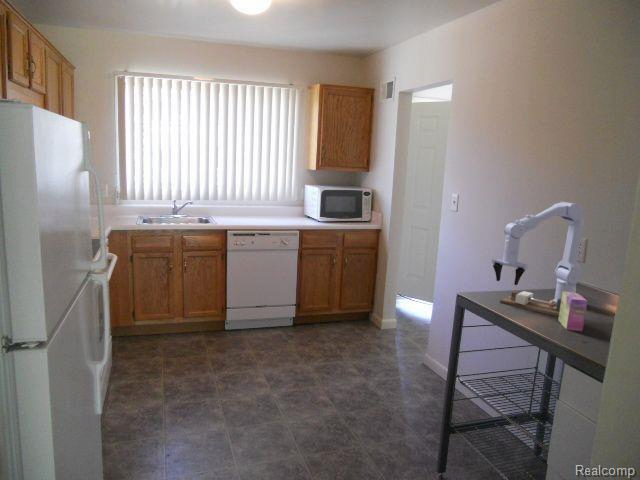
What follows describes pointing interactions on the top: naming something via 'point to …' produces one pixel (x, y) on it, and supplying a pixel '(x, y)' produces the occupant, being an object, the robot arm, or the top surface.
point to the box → (572, 311)
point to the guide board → (530, 305)
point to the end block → (558, 304)
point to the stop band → (551, 303)
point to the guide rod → (541, 301)
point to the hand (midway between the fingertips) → (506, 282)
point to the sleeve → (523, 297)
